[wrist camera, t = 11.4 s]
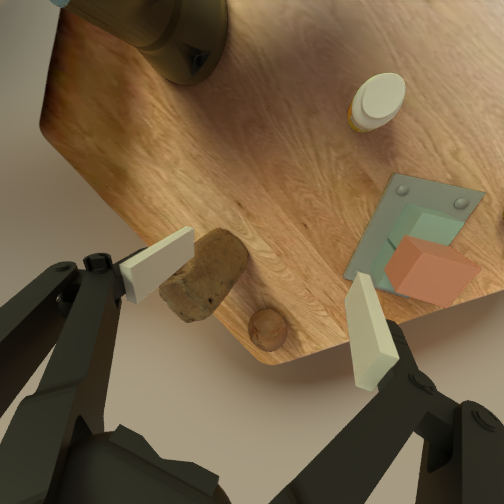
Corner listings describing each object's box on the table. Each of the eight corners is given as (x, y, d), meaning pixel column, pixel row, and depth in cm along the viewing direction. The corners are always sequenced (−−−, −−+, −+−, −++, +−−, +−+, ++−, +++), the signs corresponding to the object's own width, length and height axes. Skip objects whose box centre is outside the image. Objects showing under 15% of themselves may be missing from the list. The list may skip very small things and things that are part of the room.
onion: (260, 305, 56) (233, 321, 49) (286, 300, 49) (259, 317, 42) (273, 339, 55) (247, 360, 48) (301, 338, 48) (276, 362, 41)
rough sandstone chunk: (255, 258, 46) (215, 320, 29) (232, 271, 50) (184, 333, 33) (227, 219, 44) (166, 260, 27) (205, 235, 48) (138, 281, 31)
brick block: (404, 234, 29) (422, 252, 23) (452, 247, 27) (481, 268, 22) (383, 269, 32) (395, 292, 26) (426, 282, 30) (447, 308, 25)
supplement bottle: (371, 79, 28) (391, 48, 20) (397, 108, 29) (427, 89, 20) (339, 115, 31) (344, 101, 23) (362, 141, 31) (376, 136, 23)
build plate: (393, 172, 32) (409, 177, 26) (480, 191, 30) (521, 201, 24) (342, 274, 42) (346, 296, 35) (405, 294, 39) (421, 321, 33)
